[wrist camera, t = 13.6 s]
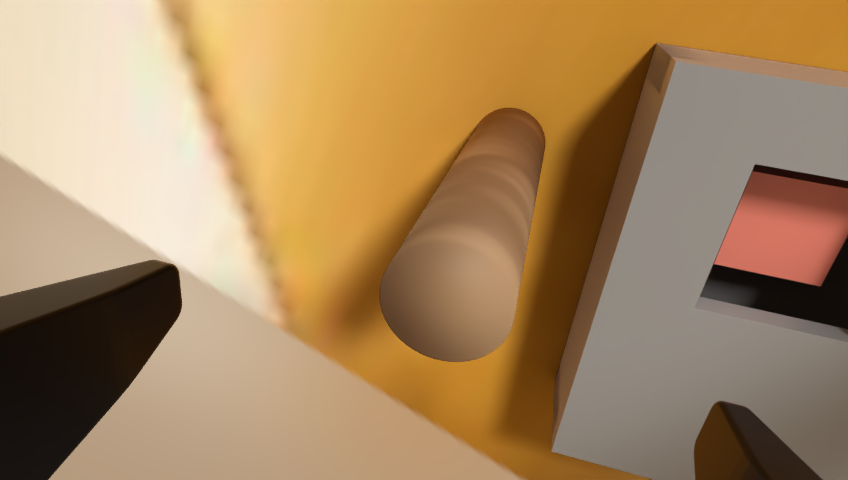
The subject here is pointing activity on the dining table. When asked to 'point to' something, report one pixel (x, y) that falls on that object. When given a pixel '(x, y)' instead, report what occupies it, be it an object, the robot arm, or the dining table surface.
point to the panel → (707, 276)
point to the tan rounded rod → (469, 245)
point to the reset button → (787, 225)
